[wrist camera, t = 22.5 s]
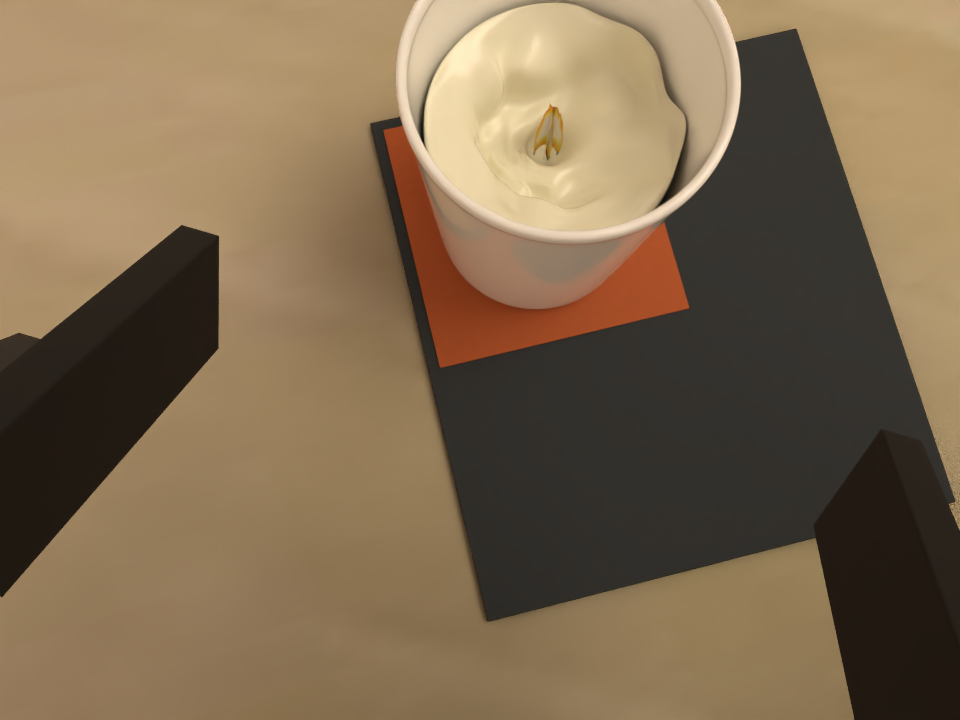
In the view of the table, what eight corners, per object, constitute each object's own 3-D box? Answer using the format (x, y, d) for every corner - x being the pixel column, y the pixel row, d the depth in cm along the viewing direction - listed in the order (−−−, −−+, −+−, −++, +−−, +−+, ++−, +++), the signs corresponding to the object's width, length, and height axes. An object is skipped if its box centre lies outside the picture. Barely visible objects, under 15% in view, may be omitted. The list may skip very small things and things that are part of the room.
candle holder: (593, 82, 34) (656, -128, 23) (683, 278, 33) (801, 164, 21) (388, 159, 34) (344, -17, 22) (471, 363, 32) (472, 293, 20)
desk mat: (793, 32, 35) (797, 26, 35) (951, 501, 32) (957, 501, 32) (370, 126, 34) (369, 122, 34) (487, 620, 31) (487, 622, 31)
